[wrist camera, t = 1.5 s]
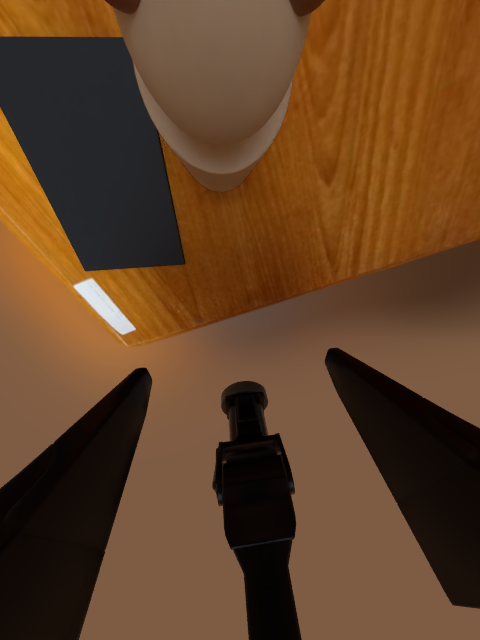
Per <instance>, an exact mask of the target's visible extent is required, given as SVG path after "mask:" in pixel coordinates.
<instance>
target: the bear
mask: <svg viewBox="0 0 480 640" xmlns="http://www.w3.org/2000/svg"><path fill="white" fill-rule="evenodd" d="M105 1H106V2H107V3H109V4H110V5H111V6H113V9H114V12H115V16H116V19H117V22H118V25H119V27H120V30H121V33H122V36H123V39H124V42H125V44H126V46H127V49H128V51H129V53H130V55H131V58H132V60H133V65H134V71H135V75H136V79H137V83H138V86H139V90H140V93H141V96H142V98H143V101H144V104H145V106H146V108H147V111H148V113H149V115H150V117H151V119H152V121H153V123H154V125H155V126H156V128H157V130H158V131H159V133H160V134H161V136H162V137H163V139H164V140H165V142H166V143H167V144H168V145H169V147H170V148H171V149H172V151H173V152H174V153H175V154H176V156H177V157H178V158H179V159H180V161H181V162H182V163H183V165H184V166H185V167H186V168H187V170H188V171H189V172H190V174H191V175H192V176H193V177H194V178H195V180H196V181H197V182H198V183H199V184H201V185H202V186H203V187H205V188H207V189H209V190H211V191H215V192H227V191H230V190H232V189H234V188H236V187H237V186H239V185H240V184H241V183H242V182H243V181H244V180H245V178H246V177H247V176H248V174H249V173H250V172H251V170H252V169H253V168H254V166H255V165H256V164H257V163H258V161H259V160H260V159H261V157H262V156H263V155H264V153H265V152H266V151H267V149H268V148H269V147H270V145H271V144H272V142H273V141H274V139H275V137H276V135H277V133H278V131H279V129H280V127H281V125H282V122H283V120H284V117H285V114H286V111H287V107H288V104H289V99H290V94H291V89H292V81H293V76H294V74H295V71H296V68H297V66H298V63H299V60H300V56H301V53H302V49H303V46H304V42H305V38H306V34H307V30H308V25H309V20H310V15H311V12H313V11H314V10H315V9H316V8H317V7H319V6H320V5H321V4H322V3H323V2H324V0H105Z"/></svg>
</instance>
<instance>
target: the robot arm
mask: <svg viewBox="0 0 480 640" xmlns="http://www.w3.org/2000/svg"><path fill="white" fill-rule="evenodd" d="M325 365H326V367H327V369H328V372H329V374H330V377H331V379H332V382H333V384H334V386H335V389H336V391H337V393H338V395H339V397H340V399H341V401H342V403H343V404H344V406H345V408H346V410H347V412H348V414H349V416H350V417H351V419H352V421H353V423H354V425H355V427H356V428H357V430H358V432H359V434H360V436H361V438H362V440H363V441H364V443H365V445H366V447H367V449H368V450H369V453H370V454H371V456H372V458H373V460H374V462H375V464H376V465H377V467H378V469H379V471H380V473H381V474H382V477H383V478H384V480H385V482H386V484H387V486H388V488H389V490H390V491H391V493H392V495H393V497H394V499H395V501H396V502H397V503H398V506H399V508H400V510H401V512H402V514H403V516H404V517H405V519H406V521H407V523H408V525H409V527H410V529H411V530H412V532H413V534H414V536H415V538H416V540H417V542H418V543H419V545H420V547H421V549H422V551H423V552H424V555H425V556H426V558H427V560H428V562H429V564H430V566H431V567H432V569H433V571H434V573H435V575H436V577H437V579H438V580H439V582H440V584H441V586H442V588H443V590H444V592H445V593H446V595H447V597H448V598H449V600H450V602H451V603H452V605H455V606H462V607H463V606H464V607H471V608H479V609H480V428H478V427H476V426H474V425H473V424H471V423H469V422H467V421H465V420H463V419H461V418H459V417H457V416H456V415H454V414H452V413H450V412H448V411H446V410H445V409H443V408H441V407H439V406H438V405H436V404H434V403H432V402H431V401H429V400H427V399H426V398H423V397H422V396H420V395H418V394H417V393H415V392H413V391H412V390H410V389H408V388H406V387H405V386H403V385H401V384H399V383H398V382H396V381H394V380H392V379H391V378H389V377H387V376H385V375H384V374H382V373H380V372H379V371H377V370H375V369H373V368H372V367H370V366H368V365H366V364H365V363H363V362H361V361H360V360H358V359H356V358H354V357H352V356H351V355H349V354H347V353H346V352H344V351H342V350H340V349H339V348H331V349H329V350H328V352H327V355H326V358H325ZM151 386H152V378H151V376H150V374H149V372H148V370H147V369H146V368H137V369H135V370H134V371H133V372H132V373H131V374H129V375H128V376H127V377H126V378H125V379H124V380H123V381H122V382H121V383H119V384H118V385H117V386H116V387H115V388H114V389H113V390H112V391H110V392H109V393H108V394H107V395H106V396H105V397H104V398H103V399H102V400H100V401H99V402H98V403H97V404H96V405H95V406H94V407H93V408H91V410H89V411H88V412H87V413H86V414H85V415H84V416H83V417H82V418H80V419H79V420H78V421H77V422H76V423H75V424H74V425H73V426H71V427H70V428H69V429H68V430H67V431H66V432H65V433H64V434H62V435H61V436H60V437H59V438H58V439H57V440H56V441H55V442H54V444H51V445H50V446H49V447H48V448H47V449H46V450H45V451H43V452H42V453H41V454H40V455H39V456H38V457H37V458H36V459H34V460H33V461H32V462H31V463H30V464H29V465H27V466H26V467H25V468H24V469H23V470H22V471H21V472H20V473H18V474H17V475H16V476H15V477H14V478H12V479H11V480H10V481H9V482H7V483H6V484H5V485H4V486H3V487H1V489H0V640H79V637H80V634H81V630H82V627H83V624H84V621H85V617H86V614H87V611H88V607H89V604H90V601H91V597H92V594H93V591H94V587H95V584H96V581H97V577H98V574H99V571H100V567H101V563H102V561H103V557H104V554H105V549H106V547H107V543H108V540H109V536H110V533H111V530H112V527H113V523H114V520H115V517H116V513H117V510H118V506H119V503H120V500H121V497H122V493H123V490H124V486H125V483H126V480H127V477H128V473H129V470H130V467H131V463H132V460H133V457H134V453H135V450H136V447H137V443H138V440H139V436H140V433H141V430H142V427H143V423H144V420H145V416H146V412H147V407H148V402H149V396H150V390H151ZM264 396H265V395H264V392H255V393H246V394H238V395H229V396H225V405H226V412H227V418H228V420H229V431H230V441H229V442H219V447H218V448H217V449H216V465H215V472H214V478H213V489H214V490H215V492H216V494H217V498H218V504H219V506H223V514H224V530H225V536H226V538H227V541H228V543H229V546H230V548H231V550H233V551H234V553H235V555H236V557H237V560H238V562H239V564H240V566H241V568H242V571H243V573H244V582H245V594H246V608H247V621H248V634H249V640H301V634H300V629H299V624H298V618H297V612H296V607H295V601H294V596H293V590H292V585H291V580H290V573H289V568H288V564H289V557H290V552H291V545H292V539H294V537H295V529H296V518H295V512H294V507H293V502H292V498H291V495H292V494H294V493H295V488H294V482H293V477H292V473H291V468H290V465H289V462H288V459H287V456H286V453H285V450H284V447H283V444H282V441H281V438H280V435H279V433H277V434H275V435H268V432H267V427H266V422H265V418H264Z"/></svg>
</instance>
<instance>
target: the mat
mask: <svg viewBox="0 0 480 640" xmlns="http://www.w3.org/2000/svg"><path fill="white" fill-rule="evenodd" d="M0 107H1V109H2V111H3V113H4V115H5V117H6V119H7V120H8V122H9V124H10V126H11V128H12V130H13V132H14V134H15V136H16V138H17V140H18V142H19V144H20V146H21V148H22V150H23V152H24V153H25V155H26V157H27V159H28V161H29V163H30V165H31V167H32V169H33V171H34V173H35V175H36V177H37V179H38V181H39V183H40V185H41V186H42V188H43V190H44V192H45V194H46V196H47V198H48V200H49V202H50V204H51V206H52V208H53V210H54V212H55V214H56V216H57V217H58V219H59V221H60V223H61V225H62V227H63V229H64V231H65V233H66V235H67V237H68V239H69V241H70V243H71V245H72V247H73V249H74V250H75V252H76V254H77V256H78V258H79V260H80V262H81V264H82V266H83V268H84V270H85V271H95V270H109V269H124V268H138V267H153V266H167V265H182V264H185V260H184V255H183V250H182V245H181V240H180V236H179V231H178V226H177V221H176V216H175V211H174V206H173V202H172V197H171V192H170V187H169V182H168V177H167V172H166V168H165V163H164V158H163V153H162V148H161V143H160V138H159V134H158V130H157V128H156V126H155V125H154V123H153V121H152V119H151V117H150V115H149V113H148V111H147V108H146V106H145V104H144V101H143V98H142V96H141V93H140V90H139V86H138V83H137V79H136V75H135V71H134V65H133V60H132V58H131V55H130V53H129V51H128V49H127V46H126V44H125V42H124V39H123V37H0Z"/></svg>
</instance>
